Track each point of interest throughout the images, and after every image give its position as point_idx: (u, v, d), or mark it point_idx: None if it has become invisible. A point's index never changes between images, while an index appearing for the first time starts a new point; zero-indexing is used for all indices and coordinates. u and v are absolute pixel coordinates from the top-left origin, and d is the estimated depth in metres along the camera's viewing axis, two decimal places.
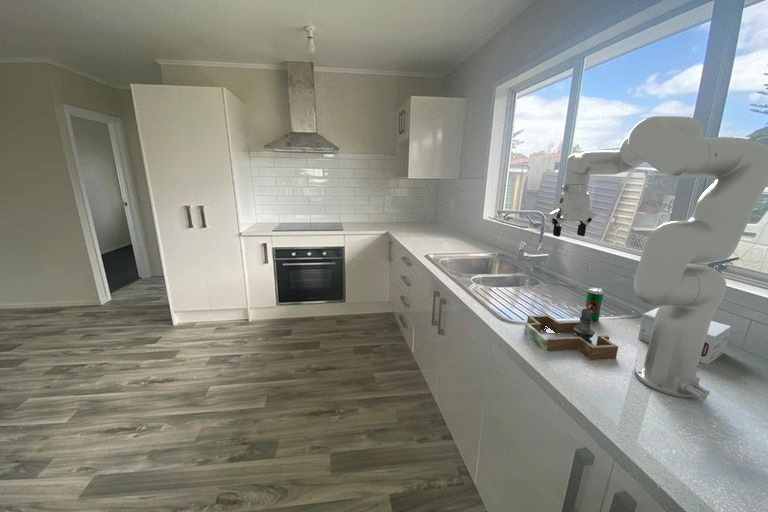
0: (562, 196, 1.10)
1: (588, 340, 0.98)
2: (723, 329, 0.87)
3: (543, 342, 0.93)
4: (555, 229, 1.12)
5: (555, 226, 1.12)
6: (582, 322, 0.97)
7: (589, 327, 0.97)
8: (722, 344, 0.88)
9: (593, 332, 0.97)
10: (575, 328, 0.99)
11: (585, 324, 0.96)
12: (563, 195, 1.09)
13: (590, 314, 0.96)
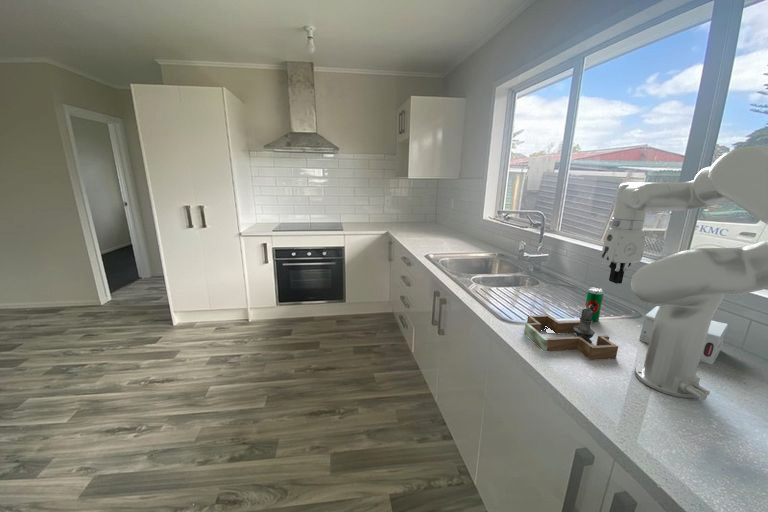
0: (611, 233, 0.91)
1: (588, 340, 0.98)
2: (723, 328, 0.88)
3: (543, 342, 0.93)
4: (613, 274, 0.94)
5: (613, 271, 0.94)
6: (582, 322, 0.97)
7: (589, 327, 0.97)
8: (721, 342, 0.89)
9: (593, 332, 0.97)
10: (575, 328, 0.99)
11: (585, 324, 0.96)
12: (612, 232, 0.91)
13: (590, 314, 0.96)
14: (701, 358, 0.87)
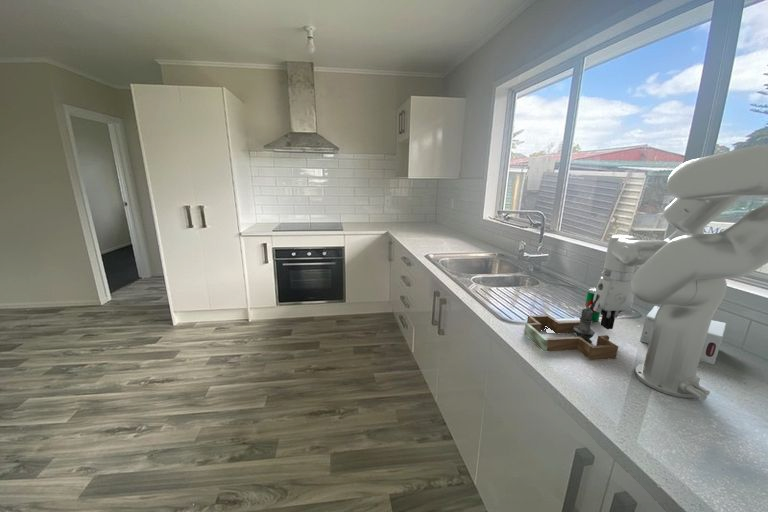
0: (602, 282, 0.95)
1: (588, 340, 0.98)
2: (722, 327, 0.89)
3: (543, 342, 0.93)
4: (604, 320, 0.98)
5: (604, 317, 0.98)
6: (582, 322, 0.97)
7: (589, 327, 0.97)
8: None
9: (593, 332, 0.97)
10: (575, 328, 0.99)
11: (585, 324, 0.96)
12: (603, 281, 0.94)
13: (590, 314, 0.96)
14: (703, 358, 0.87)
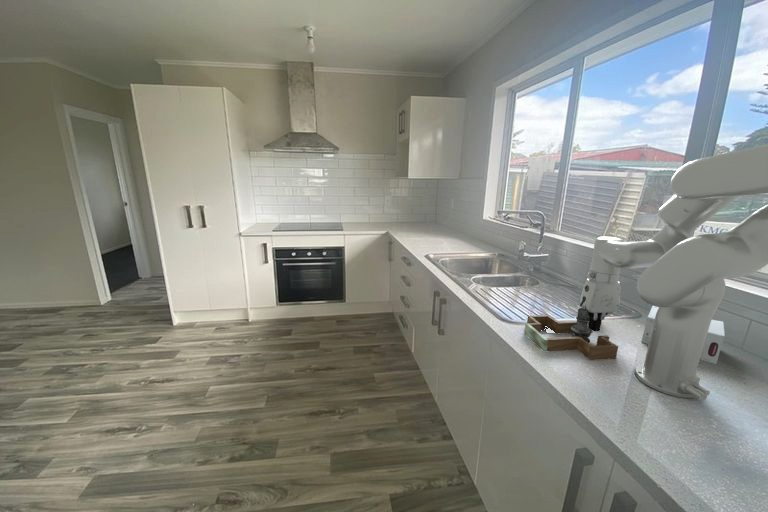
0: (588, 284, 0.95)
1: (586, 339, 0.98)
2: (722, 326, 0.89)
3: (543, 342, 0.93)
4: (591, 322, 0.98)
5: (591, 319, 0.98)
6: (579, 322, 0.97)
7: (586, 326, 0.97)
8: None
9: (590, 331, 0.97)
10: (572, 328, 0.99)
11: (582, 323, 0.96)
12: (589, 283, 0.94)
13: (586, 313, 0.96)
14: (705, 358, 0.87)
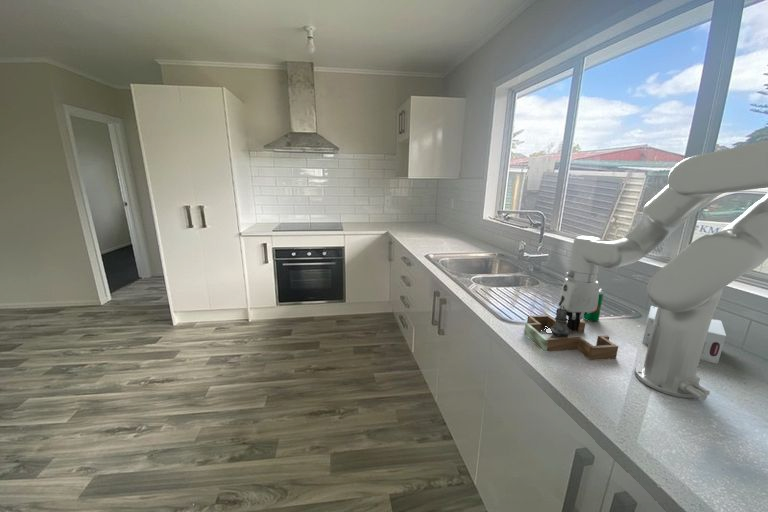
0: (566, 283, 0.94)
1: None
2: (721, 325, 0.90)
3: (543, 342, 0.93)
4: (570, 322, 0.98)
5: (570, 319, 0.97)
6: (557, 322, 0.97)
7: (565, 326, 0.96)
8: None
9: (569, 331, 0.96)
10: (551, 329, 0.99)
11: (560, 323, 0.96)
12: (567, 282, 0.94)
13: (564, 314, 0.95)
14: (707, 358, 0.87)
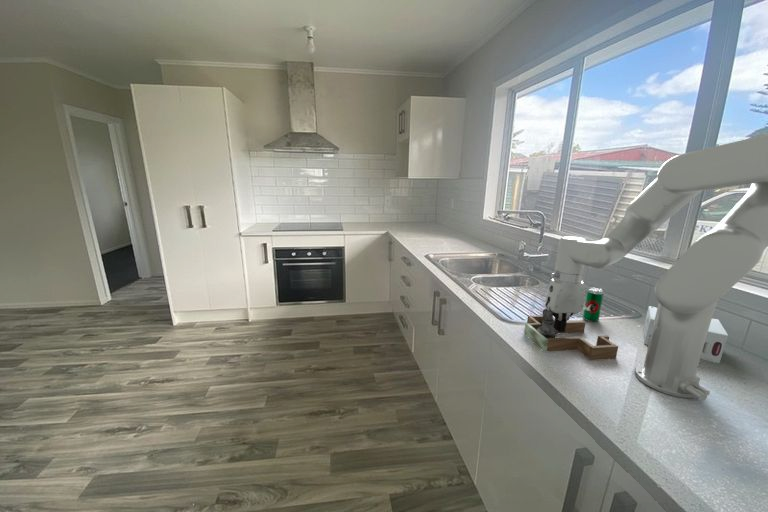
0: (552, 284, 0.94)
1: None
2: (720, 324, 0.90)
3: (543, 342, 0.93)
4: (556, 323, 0.97)
5: (557, 320, 0.97)
6: (543, 323, 0.97)
7: (551, 327, 0.96)
8: None
9: (555, 332, 0.96)
10: (538, 329, 0.99)
11: (546, 324, 0.96)
12: (553, 283, 0.93)
13: (550, 314, 0.95)
14: (709, 358, 0.88)
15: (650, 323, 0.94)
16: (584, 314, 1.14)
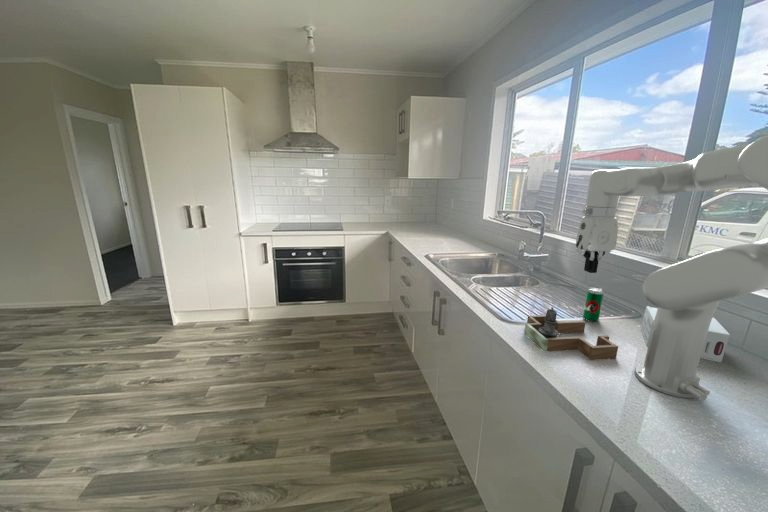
0: (584, 221, 0.90)
1: None
2: (718, 323, 0.91)
3: (543, 342, 0.93)
4: (587, 264, 0.93)
5: (588, 260, 0.93)
6: (546, 323, 0.97)
7: (553, 328, 0.96)
8: None
9: (557, 333, 0.96)
10: (539, 329, 0.99)
11: (549, 325, 0.96)
12: (585, 220, 0.89)
13: (553, 315, 0.95)
14: (711, 357, 0.88)
15: None
16: (584, 314, 1.14)
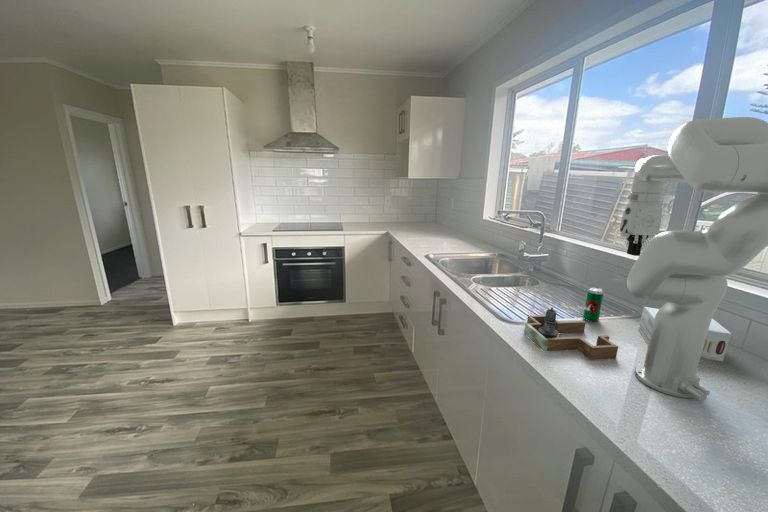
0: (629, 206, 0.96)
1: None
2: (716, 322, 0.92)
3: (543, 342, 0.93)
4: (631, 247, 0.99)
5: (631, 244, 0.99)
6: (546, 323, 0.97)
7: (552, 328, 0.96)
8: None
9: (556, 333, 0.96)
10: (539, 329, 0.99)
11: (548, 325, 0.96)
12: (631, 205, 0.95)
13: (553, 315, 0.95)
14: (713, 357, 0.88)
15: None
16: (584, 314, 1.14)
